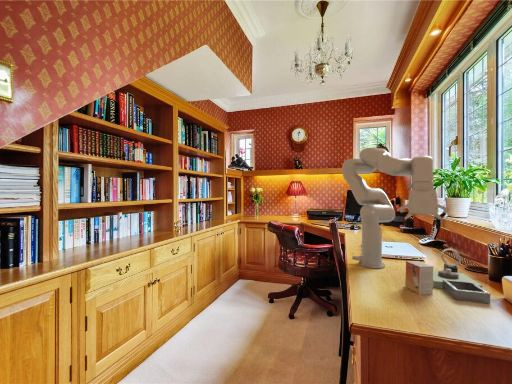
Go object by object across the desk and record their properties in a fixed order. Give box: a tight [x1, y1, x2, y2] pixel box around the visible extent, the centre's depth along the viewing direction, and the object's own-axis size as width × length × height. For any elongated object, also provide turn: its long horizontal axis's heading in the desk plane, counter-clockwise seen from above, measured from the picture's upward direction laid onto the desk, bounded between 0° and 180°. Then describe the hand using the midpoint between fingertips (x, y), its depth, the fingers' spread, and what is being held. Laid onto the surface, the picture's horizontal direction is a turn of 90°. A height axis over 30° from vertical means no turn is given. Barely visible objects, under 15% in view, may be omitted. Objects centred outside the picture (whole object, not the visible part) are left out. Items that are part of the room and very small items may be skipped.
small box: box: [404, 260, 434, 296], centre depth 102 cm, size 8×6×10 cm
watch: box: [440, 248, 462, 273], centre depth 126 cm, size 6×8×11 cm
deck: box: [433, 268, 483, 289], centre depth 111 cm, size 16×16×6 cm
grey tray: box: [442, 279, 491, 305], centre depth 97 cm, size 10×12×4 cm
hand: (423, 228), depth 107 cm, fingers open, 9 cm apart
